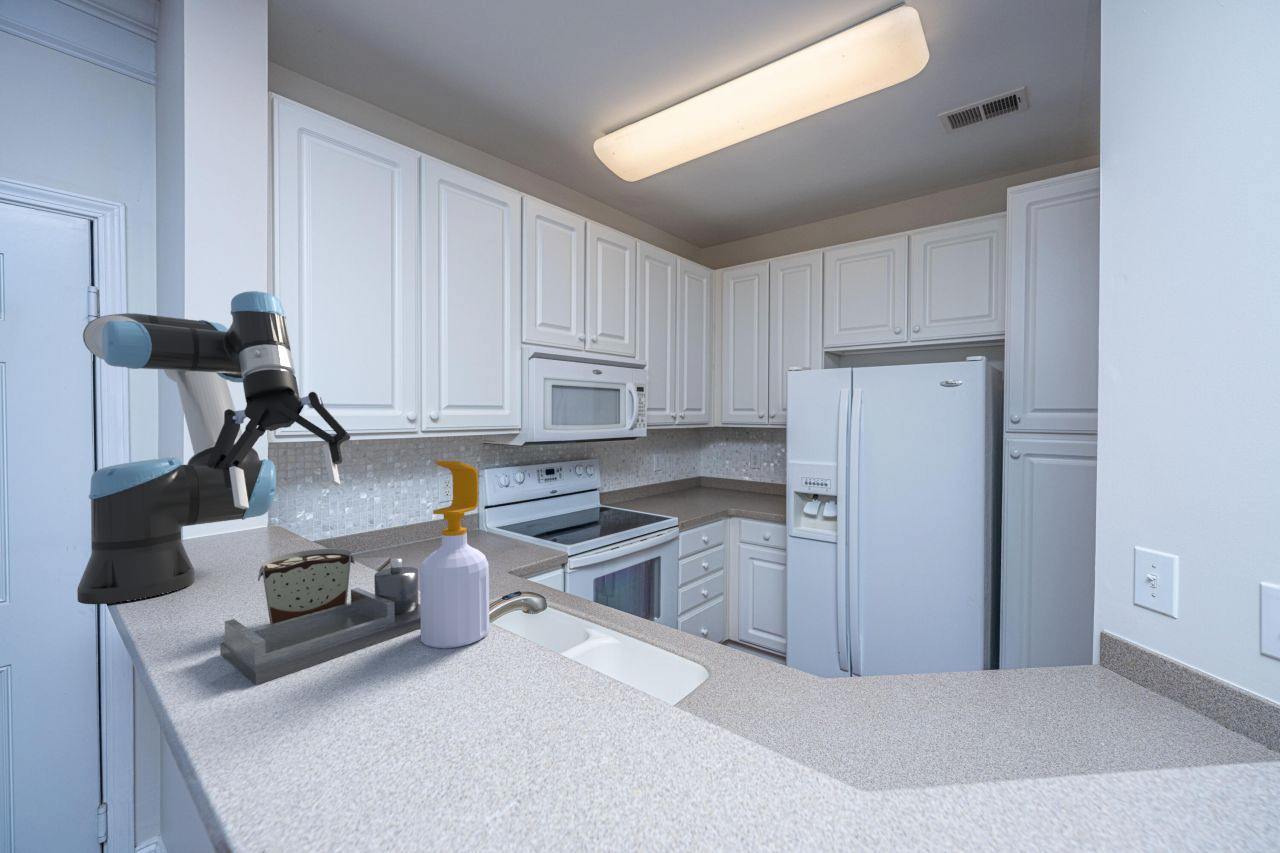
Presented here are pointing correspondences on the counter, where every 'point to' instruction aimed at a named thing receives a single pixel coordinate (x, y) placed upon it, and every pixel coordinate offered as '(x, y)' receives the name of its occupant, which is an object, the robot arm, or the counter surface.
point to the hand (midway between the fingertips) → (289, 495)
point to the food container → (305, 582)
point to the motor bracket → (327, 628)
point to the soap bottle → (455, 573)
